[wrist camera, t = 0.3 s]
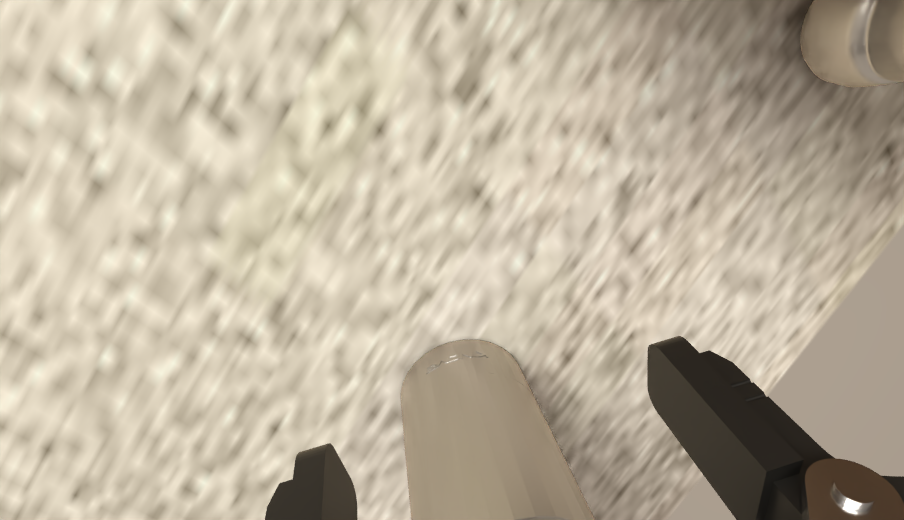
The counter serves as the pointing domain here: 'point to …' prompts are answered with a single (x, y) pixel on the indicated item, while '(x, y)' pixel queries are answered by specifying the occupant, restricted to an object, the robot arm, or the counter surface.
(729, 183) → the counter surface
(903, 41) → the plastic bottle
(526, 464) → the robot arm
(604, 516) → the counter surface
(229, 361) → the counter surface
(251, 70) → the counter surface
